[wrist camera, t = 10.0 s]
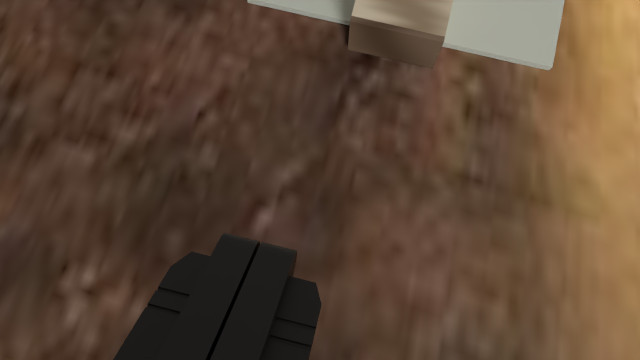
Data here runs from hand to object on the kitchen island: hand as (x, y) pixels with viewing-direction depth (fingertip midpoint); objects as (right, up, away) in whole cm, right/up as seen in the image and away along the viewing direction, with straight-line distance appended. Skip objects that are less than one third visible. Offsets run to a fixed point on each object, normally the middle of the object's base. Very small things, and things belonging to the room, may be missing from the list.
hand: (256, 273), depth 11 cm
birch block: (+6, +11, +25) cm, 28 cm away
